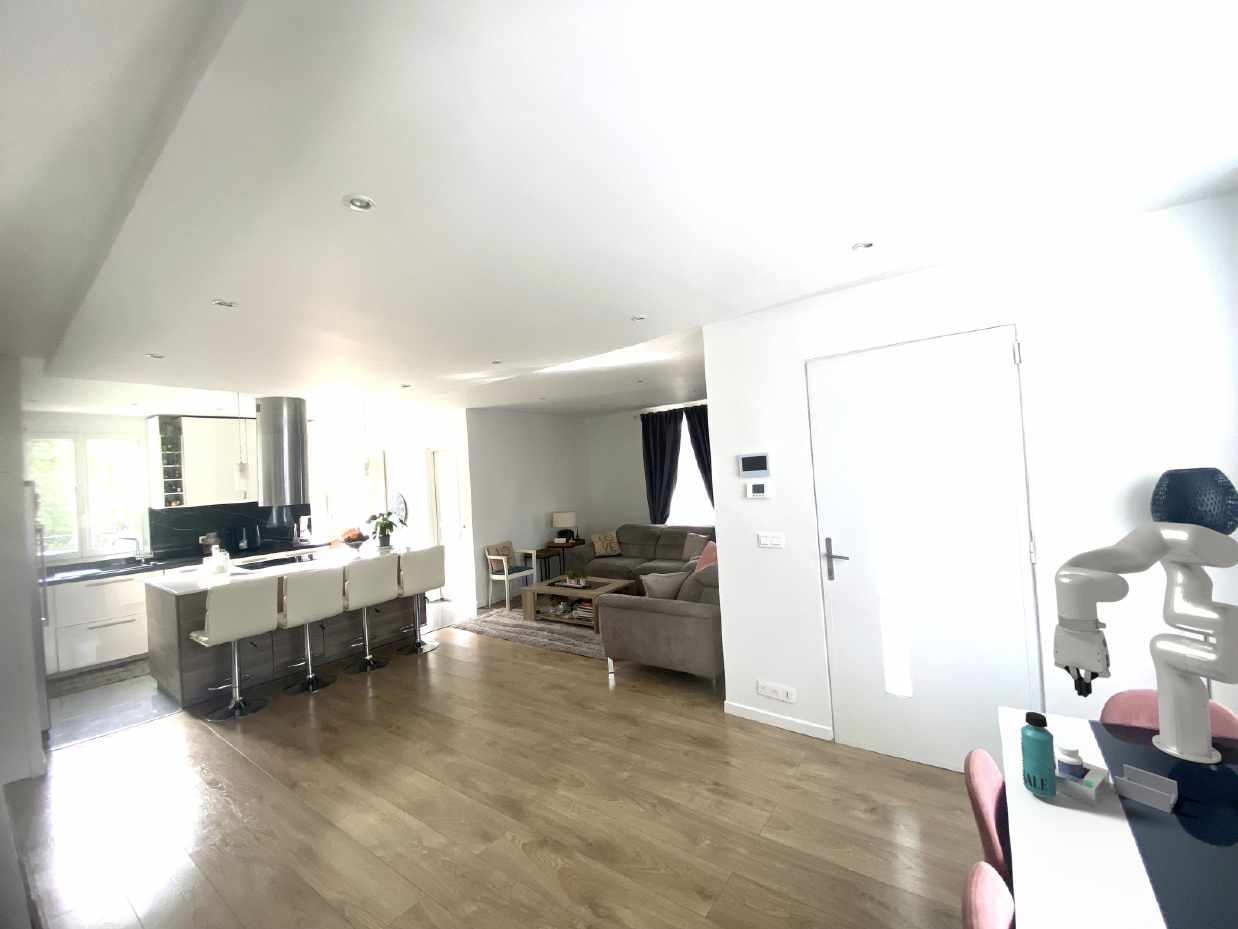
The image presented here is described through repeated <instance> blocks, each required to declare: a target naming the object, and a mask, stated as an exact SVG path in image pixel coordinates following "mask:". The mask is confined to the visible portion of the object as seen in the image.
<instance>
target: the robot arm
mask: <svg viewBox="0 0 1238 929" xmlns="http://www.w3.org/2000/svg"><path fill="white" fill-rule="evenodd" d="M1158 562H1159V563H1160V564H1161V566H1162V567H1163V570H1164V572H1165V576H1166V586H1165V593H1164V594H1165V595H1164V601H1163V607H1162V608H1163V609H1162V618H1163V621H1164V622H1165V624H1166V625H1168V626H1169V627H1171V628H1173V629H1176V630H1179V631H1184V632H1187V633H1192V634H1195V635H1196V634H1197V635H1200V636H1205V637H1210V638H1214V639H1215V642H1210V641H1207V640H1203V639H1202V640H1201V639H1198V638H1194V637H1190V636H1184V635H1180V634H1177V633H1176V634H1175V633H1166V632H1165V633H1159V634H1156V635H1154V636H1153V637H1152V638H1151V640H1150V641H1149V653H1150V656H1151V659H1152V662H1153V666H1154V669H1155V675H1156V676H1155V677H1156V688H1157V708H1158V725H1159V734H1156V735H1154V736H1152V744H1153V745H1154V746H1155V747H1156V748H1158V749H1159V750H1160V751H1162V752H1164V753H1167V754H1168V755H1170V756H1173V757H1176V758H1179V759H1182V760H1186V761H1190V762H1194V763H1200V764H1201V763H1202V764H1218V763H1220V762H1221V761H1222V754H1221V753H1220V752H1219V750H1217V749H1215V748H1214V747H1213V746H1212V733H1211V732H1212V731H1211V728H1212V727H1211V712H1210V695H1209V689H1208V688H1207V686H1206V684H1205V682H1204V681H1203V679H1202V678H1204V679H1208V680H1212V681H1215V682H1219V683H1223V684H1225V685H1226V684H1227V685H1237V684H1238V605H1233V604H1230V603H1226V602H1220V601H1213V588H1214V583H1213V581H1212V578H1211V577H1210V575H1209V574H1208V572H1207V571H1206V570H1205V569H1204V568H1203V567H1210V568H1218V569H1219V568H1220V569H1228V568H1233V567H1235V566H1236V565H1238V542H1237V541H1236V539H1234V537H1232V536H1230V535H1227V534H1224V533H1222V532H1219V531H1216V530H1214V529H1211V528H1209V527H1205V526H1203V525H1198V524H1192V523H1178V522H1163V521H1147V522H1143V523H1141V524H1139V525H1137V526H1136V527H1135V528H1134V529H1133V530H1131V531H1130V532H1129V533H1127V534H1126V535H1125V536H1124V537H1122V538H1121V539H1120V540H1119V541H1118V542H1116V543H1115V544H1113V545H1109V546H1104V547H1101V548H1096V549H1093V550H1092V549H1091V550H1089V551H1084V552H1082V553H1079V554H1076V555H1074V556H1073V557H1071V558H1069V559H1068V560H1067V561H1066V562H1064V563H1063V564H1062V565H1061V566H1060V567H1059V568H1058V569H1057V570H1056V572H1055V575H1054V583H1055V597H1056V607H1057V619H1058V622H1057V624H1056V625H1055V628H1054V636H1053V659H1054V662H1053V664H1054V666H1055V667H1057V668H1058V669H1059V668H1060V669H1062V670H1064V671H1066V673H1068V674H1069V676H1071V679H1073V685H1074V686H1073V687H1074V691H1076V692H1077V696H1079V697H1083V698H1088V696H1090V695H1092V693H1093V687H1092V686H1093V685H1092V681H1093V680H1096V679H1097V678H1100V679H1109V678H1111V676H1112V675H1111V672H1110V668H1111V659H1110V653H1109V652H1110V651H1109V647H1108V642H1107V639H1106V635H1105V633H1104V631H1103V630H1102V629H1106V628H1107V624H1106V622H1102V621H1100V619H1099V618H1098V607H1097V606H1098V605H1097V604H1098V603H1115V602H1120V601H1122V600H1124V599H1125V598H1126V597H1127V595H1128V594H1129V592H1130V586H1129V582H1128V581H1127V580H1126V579H1125V578H1124V577H1123V576H1121V575H1128V574H1136V573H1142V572H1145V571H1148V570H1150V568H1151V567H1153V566H1154V565H1155V564H1156V563H1158ZM1202 566H1203V567H1202ZM1081 670H1083V671H1084V673H1083V676H1082V673H1081Z"/></svg>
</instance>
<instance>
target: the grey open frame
mask: <svg viewBox="0 0 1238 929" xmlns="http://www.w3.org/2000/svg"><path fill="white" fill-rule="evenodd" d="M1122 769H1123V770H1122V771H1123V772H1122V773H1123V777H1120V776H1117V775H1115V776H1114V789H1115V790H1114V791H1115V794H1116V795H1119V796H1121V797H1124V798H1128V799H1131V800H1132V801H1135V802H1137V803H1140V804H1141V803H1142V804H1144V805H1146V806H1148V807H1152V808H1155V809H1157V810H1159V811H1163V812H1165V813H1168V814H1171V812H1172V811H1173V809H1172V808H1174V807H1175V805H1174V804H1176V803H1177V800H1178V798H1179V796H1178V795H1179V794H1178V782H1177V781H1176V780H1173V779H1170V778H1169V777H1164V776H1161V775H1159V774H1156V773H1152V772H1150V771H1147V770H1143V769H1141V768H1137V767H1135V766H1132V765H1128V764H1125V763H1124V764H1123V765H1122Z"/></svg>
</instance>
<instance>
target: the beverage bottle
mask: <svg viewBox="0 0 1238 929" xmlns="http://www.w3.org/2000/svg"><path fill="white" fill-rule="evenodd" d="M1024 721H1025V723H1026V725H1024V726H1022V727H1021V728H1020V733H1021V734H1020V735H1021V738H1020V740H1021V743H1020V748H1021V758H1022V760H1021V764H1022V765H1021V766H1022V777H1023V778H1022V780H1023V782H1022V783H1023V786H1024V787H1025V789H1026V790H1027V791H1028V792H1030V793H1031V794H1034V795H1036V796H1038V797H1043V798H1054V797H1056V796H1057V791H1056V777H1055V776H1056V774H1055V765H1054V752H1055V749H1054V748H1055V747H1054V735H1053V734H1052V733H1051V732H1050V731H1049V730H1048V729H1047V727H1048V721H1047V717H1046V716H1045V715H1044V714H1042V713H1039V712H1035V711H1028V712H1025V720H1024Z"/></svg>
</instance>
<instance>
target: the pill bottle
mask: <svg viewBox="0 0 1238 929" xmlns="http://www.w3.org/2000/svg"><path fill="white" fill-rule="evenodd" d="M1056 748H1057V750H1054V752H1055V768H1056V770H1058V771H1061V772H1064V773H1067V774H1069V775H1072V776H1075V777H1077V778H1080V779H1083V778H1084V769H1083V762H1084V760H1083V758H1082V757H1081V755H1079V754H1080V753H1079V747H1078V746H1077V745H1075V744H1073V743H1071V742H1067V741H1059V742H1057V746H1056Z"/></svg>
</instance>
